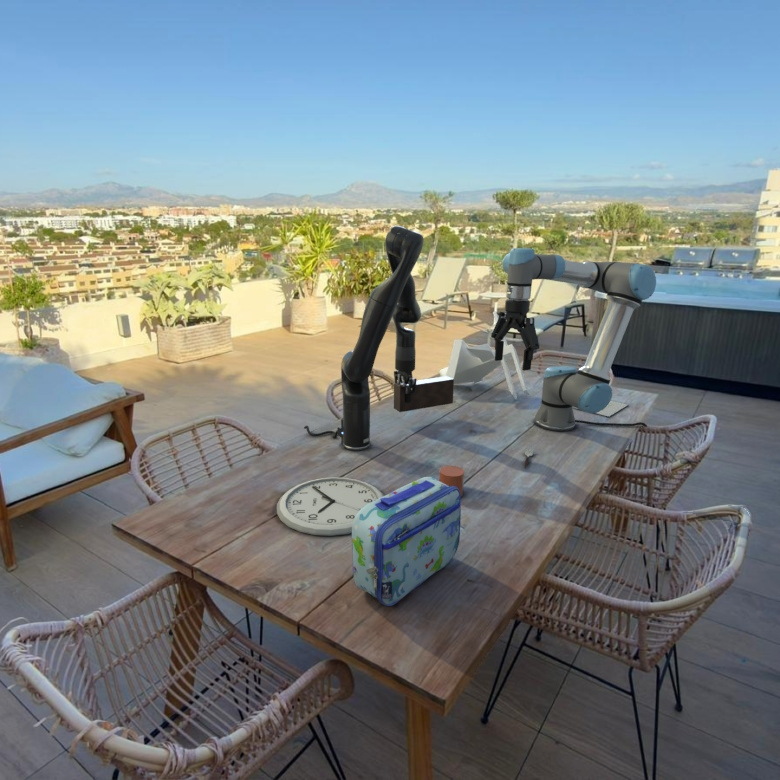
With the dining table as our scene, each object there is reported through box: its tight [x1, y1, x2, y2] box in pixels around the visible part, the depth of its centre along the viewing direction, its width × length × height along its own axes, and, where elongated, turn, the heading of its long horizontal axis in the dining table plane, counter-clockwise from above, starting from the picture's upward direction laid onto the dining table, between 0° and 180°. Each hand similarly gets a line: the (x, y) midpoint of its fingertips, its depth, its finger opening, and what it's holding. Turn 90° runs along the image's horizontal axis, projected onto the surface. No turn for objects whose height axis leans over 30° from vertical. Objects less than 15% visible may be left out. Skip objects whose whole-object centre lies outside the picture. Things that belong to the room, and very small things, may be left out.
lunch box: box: [351, 476, 462, 607], centre depth 111 cm, size 26×11×21 cm, turn 135°
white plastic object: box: [438, 310, 531, 400], centre depth 245 cm, size 37×45×31 cm
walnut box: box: [393, 376, 455, 413], centre depth 203 cm, size 24×5×10 cm, turn 117°
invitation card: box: [573, 400, 629, 418], centre depth 226 cm, size 21×1×15 cm
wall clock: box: [276, 476, 385, 537], centre depth 142 cm, size 30×2×30 cm
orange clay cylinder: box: [438, 465, 465, 498], centre depth 150 cm, size 7×7×7 cm
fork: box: [524, 445, 535, 469], centre depth 172 cm, size 3×16×2 cm, turn 160°
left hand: (404, 400), depth 200 cm, fingers closed on walnut box, 5 cm apart
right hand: (512, 365), depth 170 cm, fingers open, 13 cm apart
